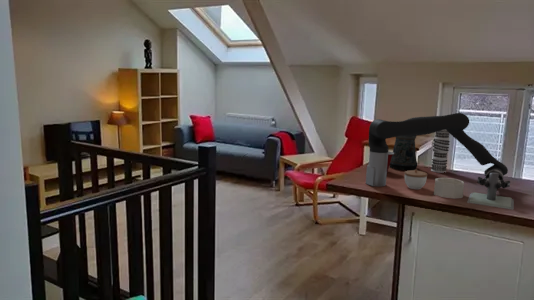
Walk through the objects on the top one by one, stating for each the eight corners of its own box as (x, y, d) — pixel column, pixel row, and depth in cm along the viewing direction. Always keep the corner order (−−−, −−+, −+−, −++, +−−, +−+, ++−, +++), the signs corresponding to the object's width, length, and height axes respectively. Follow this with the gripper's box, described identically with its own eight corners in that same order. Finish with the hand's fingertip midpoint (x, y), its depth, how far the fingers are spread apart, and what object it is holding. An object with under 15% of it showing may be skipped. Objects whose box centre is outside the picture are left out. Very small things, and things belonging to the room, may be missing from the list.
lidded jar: (427, 191, 208) (429, 172, 206) (404, 189, 209) (406, 171, 208) (423, 185, 218) (425, 167, 216) (402, 184, 220) (403, 166, 218)
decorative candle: (429, 171, 250) (433, 129, 246) (431, 168, 258) (435, 127, 254) (445, 173, 246) (450, 130, 241) (447, 170, 254) (451, 129, 250)
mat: (513, 210, 180) (513, 209, 180) (466, 203, 189) (467, 202, 189) (513, 200, 196) (513, 199, 196) (470, 194, 205) (470, 193, 204)
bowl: (447, 200, 193) (449, 185, 192) (428, 192, 205) (429, 178, 203) (468, 197, 198) (470, 183, 197) (448, 190, 209) (449, 177, 208)
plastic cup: (394, 173, 243) (396, 153, 241) (375, 173, 243) (377, 152, 241) (389, 169, 253) (391, 149, 251) (371, 168, 254) (372, 149, 251)
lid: (510, 208, 182) (514, 179, 179) (469, 202, 189) (472, 174, 187) (511, 199, 195) (514, 172, 193) (472, 193, 203) (475, 167, 201)
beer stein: (401, 171, 248) (404, 129, 244) (380, 164, 266) (383, 125, 261) (423, 169, 255) (427, 128, 250) (401, 163, 272) (404, 124, 268)
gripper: (478, 168, 206) (475, 175, 191) (512, 172, 199) (511, 180, 184) (477, 183, 207) (473, 191, 193) (510, 188, 200) (509, 197, 186)
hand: (492, 186), depth 189 cm, fingers closed on lid, 3 cm apart
